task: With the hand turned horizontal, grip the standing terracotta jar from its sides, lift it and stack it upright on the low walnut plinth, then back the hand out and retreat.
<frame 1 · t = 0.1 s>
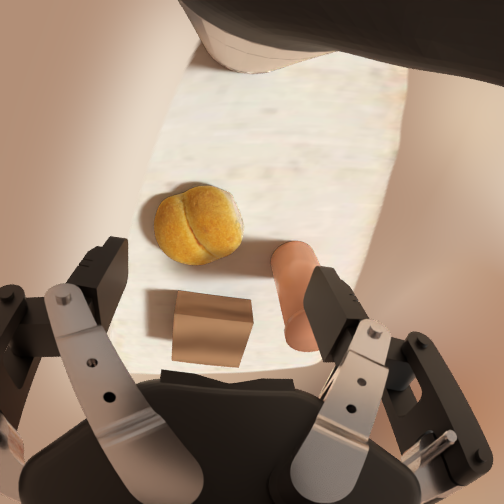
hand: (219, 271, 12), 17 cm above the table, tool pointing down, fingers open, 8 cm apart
bread roll: (200, 219, 30), on the table
jar: (293, 260, 33), on the table
plinth: (209, 320, 37), on the table
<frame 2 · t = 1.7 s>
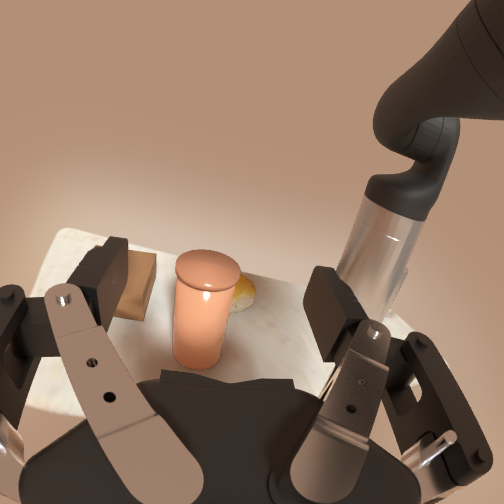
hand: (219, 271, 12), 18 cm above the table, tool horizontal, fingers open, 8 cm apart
bread roll: (221, 296, 40), on the table
jar: (196, 351, 30), on the table
plinth: (117, 292, 35), on the table
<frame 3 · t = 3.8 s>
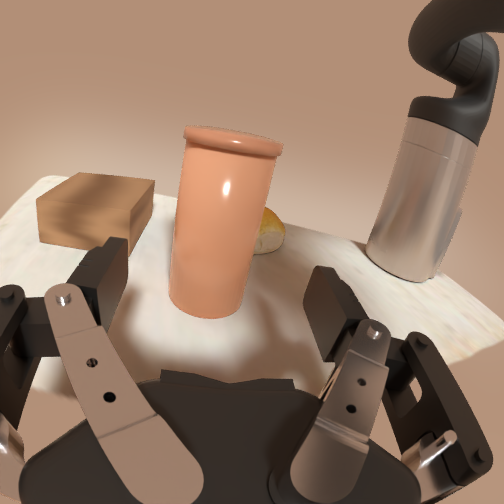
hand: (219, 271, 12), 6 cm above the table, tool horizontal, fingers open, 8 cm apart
bread roll: (239, 238, 31), on the table
jar: (205, 294, 20), on the table
plinth: (99, 227, 25), on the table
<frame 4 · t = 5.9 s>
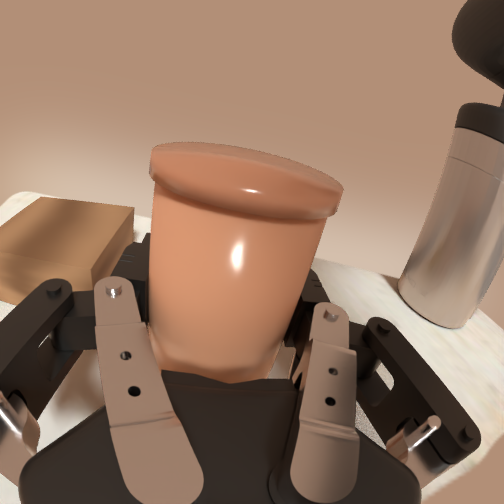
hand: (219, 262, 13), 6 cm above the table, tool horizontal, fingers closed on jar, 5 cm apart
jar: (203, 391, 13), on the table, touching gripper
plinth: (63, 273, 18), on the table
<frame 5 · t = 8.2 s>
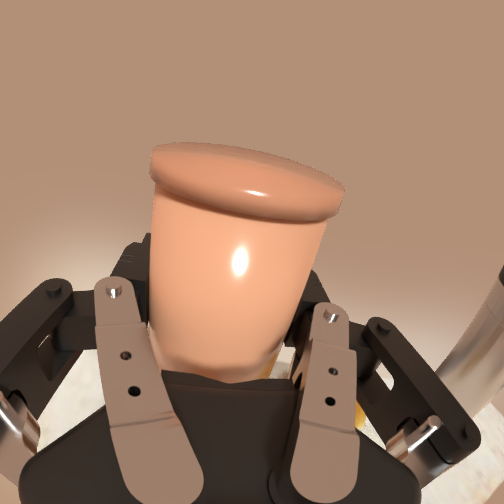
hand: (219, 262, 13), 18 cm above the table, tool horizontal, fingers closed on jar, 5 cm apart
jar: (204, 392, 13), point 12 cm above the table, touching gripper
when the fingers open (11 cm above the table, at t = 10.6 s): jar stays where it is, resting on plinth.
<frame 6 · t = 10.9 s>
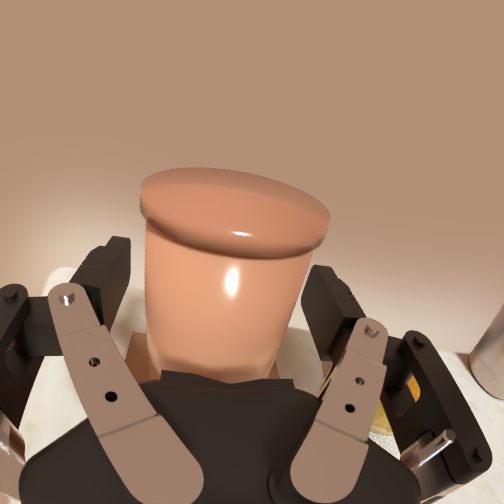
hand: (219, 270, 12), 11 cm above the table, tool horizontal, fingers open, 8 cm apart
bread roll: (375, 397, 21), on the table
jar: (202, 403, 13), point 4 cm above the table, touching plinth
plinth: (196, 432, 15), on the table
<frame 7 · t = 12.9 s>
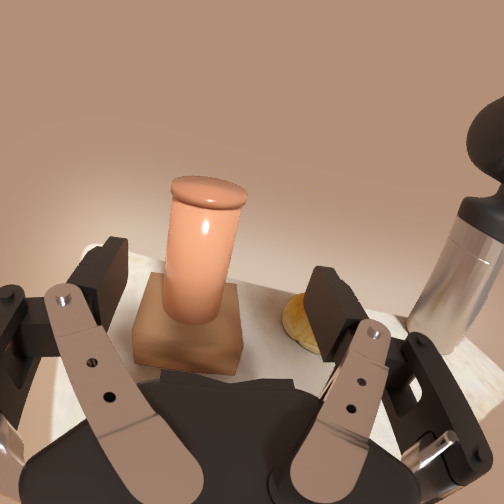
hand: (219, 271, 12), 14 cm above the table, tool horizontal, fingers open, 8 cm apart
bread roll: (315, 332, 33), on the table
jar: (191, 305, 26), point 4 cm above the table, touching plinth
plinth: (187, 336, 27), on the table
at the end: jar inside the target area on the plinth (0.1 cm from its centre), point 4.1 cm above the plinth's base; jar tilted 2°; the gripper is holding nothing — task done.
